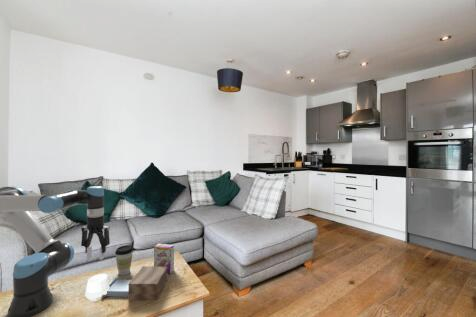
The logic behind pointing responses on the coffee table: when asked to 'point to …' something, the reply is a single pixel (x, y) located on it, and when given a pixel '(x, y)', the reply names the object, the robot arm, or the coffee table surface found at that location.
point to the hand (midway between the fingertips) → (95, 258)
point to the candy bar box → (164, 256)
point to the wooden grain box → (148, 283)
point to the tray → (118, 287)
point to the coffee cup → (124, 259)
